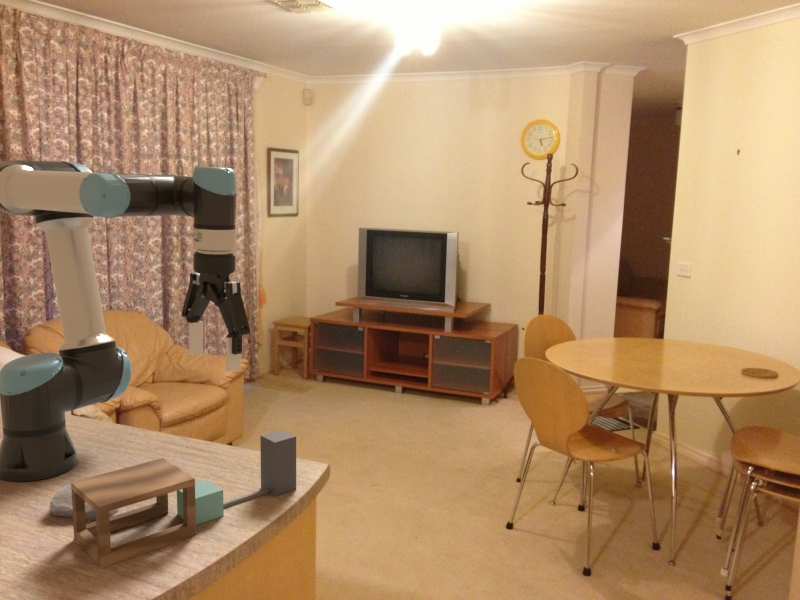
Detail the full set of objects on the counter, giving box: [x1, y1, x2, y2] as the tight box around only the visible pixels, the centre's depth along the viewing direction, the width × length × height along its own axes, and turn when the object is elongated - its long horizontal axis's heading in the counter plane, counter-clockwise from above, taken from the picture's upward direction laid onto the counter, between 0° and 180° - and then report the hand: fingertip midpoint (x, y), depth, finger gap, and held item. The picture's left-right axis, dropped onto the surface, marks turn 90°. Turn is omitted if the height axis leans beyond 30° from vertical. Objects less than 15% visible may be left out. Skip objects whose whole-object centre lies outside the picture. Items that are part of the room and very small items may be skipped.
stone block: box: [49, 480, 120, 521], centre depth 127 cm, size 12×5×10 cm
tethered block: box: [176, 429, 297, 526], centre depth 131 cm, size 6×22×11 cm, turn 134°
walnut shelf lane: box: [70, 457, 197, 569], centre depth 117 cm, size 12×16×10 cm
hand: (214, 362), depth 131 cm, fingers open, 13 cm apart
